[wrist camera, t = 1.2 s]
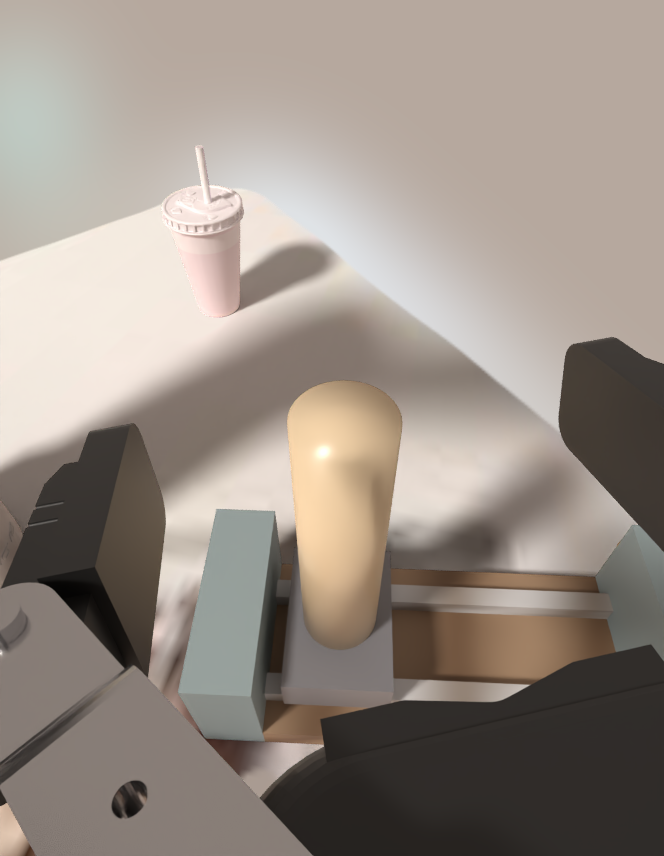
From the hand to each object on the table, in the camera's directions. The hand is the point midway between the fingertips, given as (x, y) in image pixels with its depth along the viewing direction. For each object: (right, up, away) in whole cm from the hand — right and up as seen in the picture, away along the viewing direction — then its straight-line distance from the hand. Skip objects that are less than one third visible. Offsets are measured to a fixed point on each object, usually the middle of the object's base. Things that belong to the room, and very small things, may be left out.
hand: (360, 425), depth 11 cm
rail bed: (+5, -13, +21) cm, 25 cm away
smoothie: (-11, +11, +42) cm, 45 cm away
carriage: (0, -11, +19) cm, 22 cm away
